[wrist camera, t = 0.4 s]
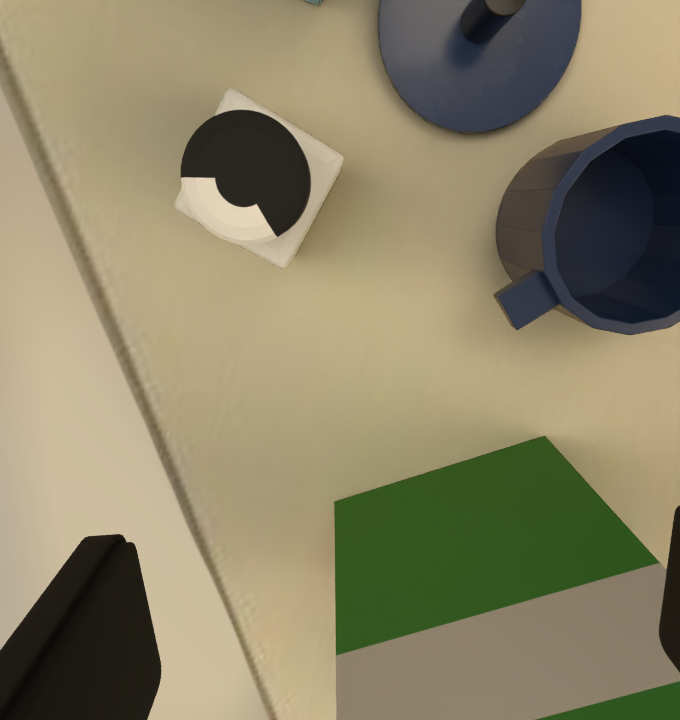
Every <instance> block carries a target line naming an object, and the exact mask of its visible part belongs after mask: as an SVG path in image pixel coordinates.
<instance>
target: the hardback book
mask: <svg viewBox="0 0 680 720" xmlns="http://www.w3.org/2000/svg"><path fill="white" fill-rule="evenodd" d="M666 572H667V570H666V569H665V568H664V567H663V566H662V565H661V564H660V562H659V561H658V560H657V559H656V558H655V557H654V556H653V555H652V554H651V553H650V551H649V550H648V549H647V548H646V547H645V546H644V545H643V544H642V543H641V541H640V540H639V539H638V538H637V537H636V536H635V535H634V534H633V533H632V532H631V530H630V529H629V528H628V527H627V526H626V525H625V524H624V523H623V522H622V520H621V519H620V518H619V517H618V516H617V515H616V514H615V513H614V512H613V511H612V509H611V508H610V507H609V506H608V505H607V504H606V503H605V502H604V501H603V499H602V498H601V497H600V496H599V495H598V494H597V493H596V492H595V491H594V490H593V488H592V487H591V486H590V485H589V484H588V483H587V482H586V481H585V480H584V478H583V477H582V476H581V475H580V474H579V473H578V472H577V471H576V470H575V469H574V467H573V466H572V465H571V464H570V463H569V462H568V461H567V460H566V459H565V457H564V456H563V455H562V454H561V453H560V452H559V451H558V450H557V449H556V448H555V446H554V445H553V444H552V443H551V442H550V441H549V440H548V439H547V438H546V436H543V437H540V438H537V439H533V440H530V441H527V442H524V443H521V444H518V445H514V446H511V447H508V448H505V449H502V450H498V451H495V452H492V453H489V454H486V455H482V456H479V457H476V458H473V459H470V460H466V461H463V462H460V463H457V464H454V465H450V466H447V467H444V468H441V469H438V470H434V471H431V472H428V473H425V474H422V475H418V476H415V477H412V478H409V479H406V480H402V481H399V482H396V483H393V484H390V485H386V486H383V487H380V488H377V489H374V490H370V491H367V492H364V493H361V494H358V495H354V496H351V497H348V498H345V499H342V500H339V501H335V597H336V705H337V720H680V673H679V671H678V670H677V668H676V667H675V666H674V664H673V663H672V662H671V660H670V659H669V658H668V656H667V655H666V653H665V652H664V650H663V647H662V645H661V642H660V638H659V623H660V616H661V609H662V601H663V594H664V587H665V580H666Z"/></svg>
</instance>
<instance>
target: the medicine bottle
mask: <svg viewBox="0 0 680 720" xmlns="http://www.w3.org/2000/svg"><path fill="white" fill-rule="evenodd" d="M342 164H343V156H342V155H341V154H340V153H338V152H337V151H335V150H333V149H332V148H330V147H328V146H327V145H325V144H324V143H322V142H320V141H319V140H317V139H315V138H314V137H312V136H311V135H309V134H307V133H306V132H304V131H302V130H301V129H299V128H298V127H296V126H294V125H293V124H291V123H289V122H288V121H286V120H284V119H283V118H281V117H280V116H278V115H276V114H275V113H273V112H271V111H270V110H268V109H267V108H265V107H263V106H262V105H260V104H258V103H257V102H255V101H254V100H252V99H250V98H249V97H247V96H245V95H244V94H242V93H241V92H239V91H237V90H236V89H233V88H230V89H228V90H227V91H226V92H225V94H224V96H223V99H222V101H221V103H220V105H219V107H218V109H217V112H216V114H215V116H213V117H212V118H210V119H209V120H207V121H206V122H204V123H203V124H202V125H201V126H200V127H199V128H198V129H197V130H196V131H195V133H194V134H193V135H192V137H191V138H190V140H189V142H188V144H187V146H186V148H185V151H184V154H183V158H182V164H181V183H182V188H181V190H180V192H179V194H178V197H177V199H176V201H175V208H176V209H177V210H178V211H179V212H181V213H182V214H184V215H186V216H188V217H189V218H191V219H193V220H195V221H197V222H198V223H200V224H202V225H203V226H204V227H205V228H206V229H207V230H208V231H210V232H211V233H212V234H214V235H216V236H217V237H219V238H221V239H223V240H226V241H228V242H232V243H235V244H237V245H239V246H241V247H243V248H245V249H246V250H248V251H250V252H252V253H253V254H255V255H257V256H259V257H261V258H262V259H264V260H266V261H268V262H270V263H271V264H273V265H275V266H277V267H278V268H281V269H284V268H286V267H287V266H288V265H289V263H290V262H291V260H292V259H293V258H294V256H295V255H296V253H297V251H298V249H299V247H300V245H301V244H302V242H303V240H304V238H305V236H306V234H307V232H308V230H309V229H310V227H311V225H312V223H313V221H314V219H315V217H316V216H317V214H318V212H319V210H320V208H321V206H322V204H323V203H324V201H325V199H326V197H327V195H328V193H329V191H330V190H331V188H332V186H333V184H334V182H335V180H336V178H337V177H338V175H339V173H340V171H341V168H342Z"/></svg>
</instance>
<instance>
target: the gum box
mask: <svg viewBox="0 0 680 720" xmlns="http://www.w3.org/2000/svg"><path fill="white" fill-rule="evenodd" d="M305 1H307V2H310V3H313V4H315V5H320V4H321V1H322V0H305Z"/></svg>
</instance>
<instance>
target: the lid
mask: <svg viewBox="0 0 680 720" xmlns="http://www.w3.org/2000/svg"><path fill="white" fill-rule="evenodd" d="M580 20H581V0H380V5H379V12H378V40H379V48H380V53H381V57H382V61H383V64H384V67H385V70H386V73H387V75H388V77H389V79H390V81H391V83H392V85H393V87H394V89H395V90H396V92H397V93H398V95H399V96H400V98H401V99H402V100H403V101H404V102H405V103H406V104H407V106H408V107H409V108H410V109H412V110H413V111H414V112H415V113H416V114H417V115H418V116H420V117H422V118H423V119H425V120H426V121H428V122H429V123H431V124H434V125H436V126H438V127H440V128H443V129H447V130H450V131H454V132H461V133H480V132H487V131H492V130H495V129H499V128H502V127H504V126H507V125H509V124H511V123H513V122H516V121H517V120H519V119H521V118H522V117H524V116H526V115H527V114H529V113H530V112H531V111H532V110H534V109H535V108H536V107H537V106H539V105H540V104H541V103H542V102H543V101H544V100H545V99H546V98H547V97H548V95H549V94H550V93H551V92H552V90H553V89H554V88H555V87H556V85H557V84H558V82H559V81H560V79H561V77H562V76H563V74H564V73H565V71H566V68H567V66H568V64H569V62H570V60H571V58H572V55H573V52H574V49H575V46H576V43H577V38H578V34H579V29H580Z"/></svg>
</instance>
